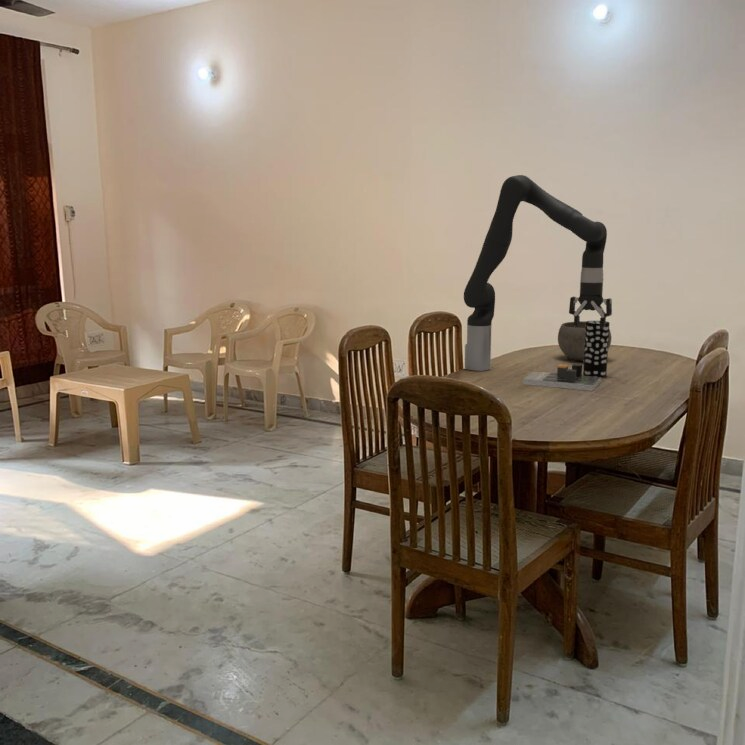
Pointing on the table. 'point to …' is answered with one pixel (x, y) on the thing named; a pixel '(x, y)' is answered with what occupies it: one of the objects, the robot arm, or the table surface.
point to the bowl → (574, 340)
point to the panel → (564, 379)
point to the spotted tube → (595, 349)
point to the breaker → (562, 370)
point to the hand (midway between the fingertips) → (589, 327)
